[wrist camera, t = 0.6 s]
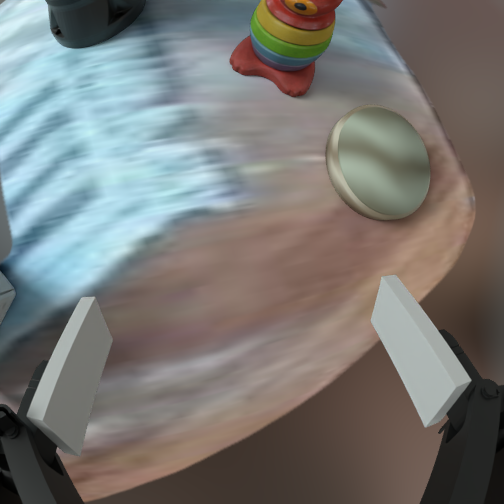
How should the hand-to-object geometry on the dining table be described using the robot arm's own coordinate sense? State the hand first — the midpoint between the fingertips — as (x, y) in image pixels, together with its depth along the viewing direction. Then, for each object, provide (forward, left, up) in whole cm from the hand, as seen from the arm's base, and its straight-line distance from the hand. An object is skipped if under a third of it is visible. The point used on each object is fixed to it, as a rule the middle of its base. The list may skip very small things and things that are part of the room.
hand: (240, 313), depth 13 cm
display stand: (-12, +21, -21) cm, 32 cm away
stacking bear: (-27, +9, -21) cm, 35 cm away
